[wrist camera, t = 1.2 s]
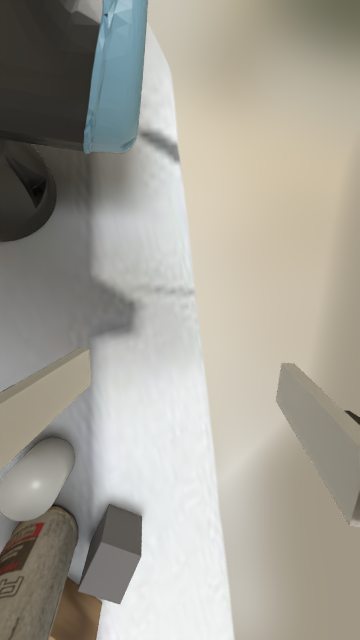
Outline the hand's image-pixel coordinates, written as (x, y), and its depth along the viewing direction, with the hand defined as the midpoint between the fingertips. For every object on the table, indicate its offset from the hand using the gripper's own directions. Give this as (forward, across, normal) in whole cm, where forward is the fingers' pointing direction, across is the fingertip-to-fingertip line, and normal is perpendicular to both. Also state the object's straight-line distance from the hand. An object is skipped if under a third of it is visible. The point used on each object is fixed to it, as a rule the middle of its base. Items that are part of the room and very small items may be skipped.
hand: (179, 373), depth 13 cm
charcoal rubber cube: (+7, -9, -28) cm, 30 cm away
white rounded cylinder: (+7, -18, -18) cm, 26 cm away
